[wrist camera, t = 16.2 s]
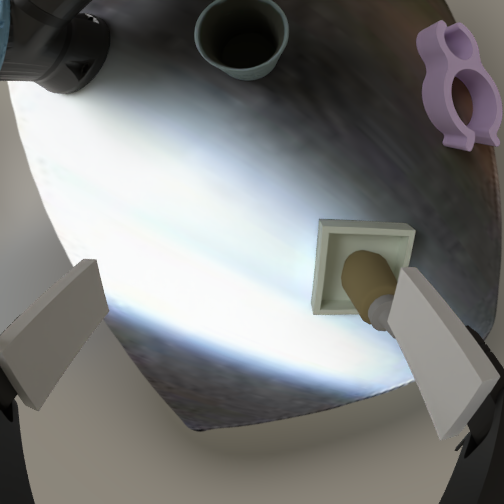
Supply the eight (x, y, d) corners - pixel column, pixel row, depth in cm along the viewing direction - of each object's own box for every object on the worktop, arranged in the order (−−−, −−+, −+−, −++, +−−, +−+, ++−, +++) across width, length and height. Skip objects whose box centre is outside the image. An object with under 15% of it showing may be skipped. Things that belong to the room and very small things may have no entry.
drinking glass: (252, 14, 32) (245, -21, 21) (299, 59, 35) (310, 33, 24) (199, 56, 35) (175, 32, 24) (246, 101, 38) (236, 89, 27)
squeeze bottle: (391, 265, 45) (437, 330, 29) (355, 296, 48) (385, 370, 32) (364, 232, 44) (410, 291, 27) (326, 266, 46) (351, 338, 30)
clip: (399, 31, 31) (418, 19, 24) (456, 32, 29) (478, 24, 22) (432, 149, 38) (455, 153, 32) (484, 140, 36) (508, 145, 30)
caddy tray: (310, 303, 50) (313, 314, 47) (318, 218, 44) (322, 226, 41) (390, 302, 49) (396, 312, 46) (406, 223, 43) (415, 230, 40)
